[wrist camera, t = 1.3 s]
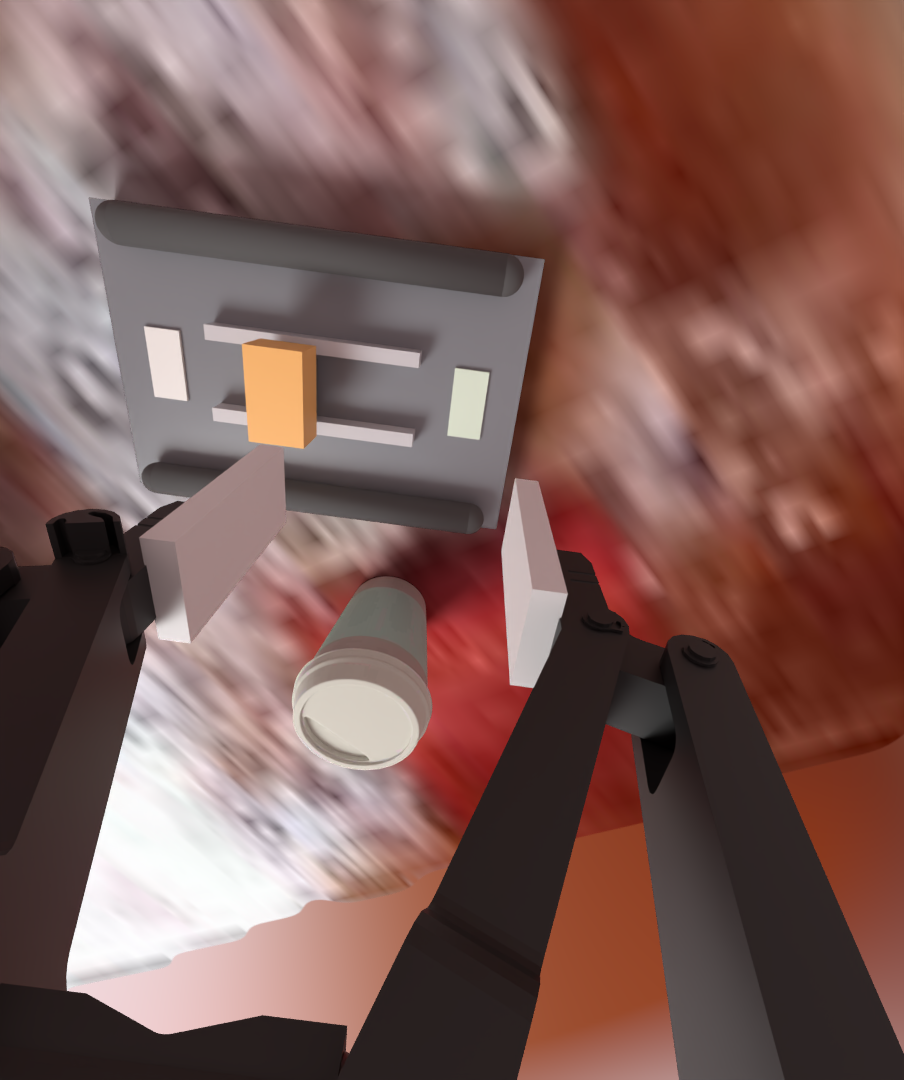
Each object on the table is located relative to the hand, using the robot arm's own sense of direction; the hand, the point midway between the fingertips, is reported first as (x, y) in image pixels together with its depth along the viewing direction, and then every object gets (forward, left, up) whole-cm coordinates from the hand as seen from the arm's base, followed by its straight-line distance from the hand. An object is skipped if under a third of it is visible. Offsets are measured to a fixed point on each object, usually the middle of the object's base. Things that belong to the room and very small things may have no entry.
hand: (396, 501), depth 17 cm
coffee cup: (-2, -17, -17) cm, 24 cm away
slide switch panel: (-7, 0, -17) cm, 19 cm away
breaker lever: (-8, 0, -15) cm, 17 cm away
